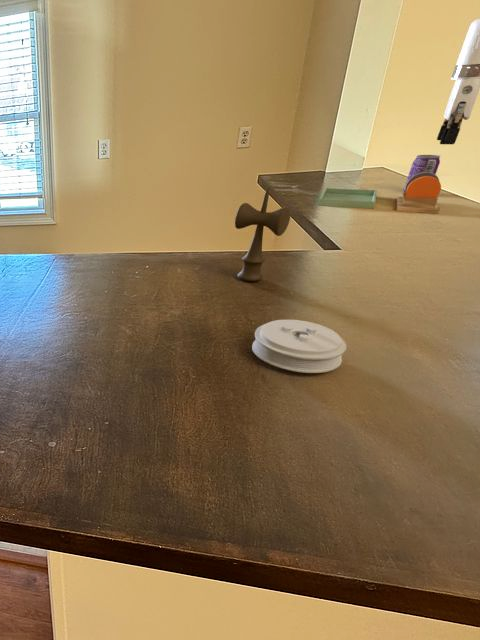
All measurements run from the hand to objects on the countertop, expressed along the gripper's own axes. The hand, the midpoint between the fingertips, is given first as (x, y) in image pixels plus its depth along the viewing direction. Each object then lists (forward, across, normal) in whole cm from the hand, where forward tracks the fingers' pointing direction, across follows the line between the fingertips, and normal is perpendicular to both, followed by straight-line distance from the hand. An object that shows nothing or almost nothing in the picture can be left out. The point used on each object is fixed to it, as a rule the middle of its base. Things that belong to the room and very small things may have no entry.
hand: (445, 142), depth 137 cm
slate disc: (+14, +10, 0) cm, 17 cm away
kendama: (+20, -79, +34) cm, 89 cm away
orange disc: (+14, +3, +1) cm, 14 cm away
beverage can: (+20, +28, 0) cm, 34 cm away
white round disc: (+20, -113, +21) cm, 117 cm away
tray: (+20, +10, +19) cm, 29 cm away
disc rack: (+20, +6, 0) cm, 20 cm away
